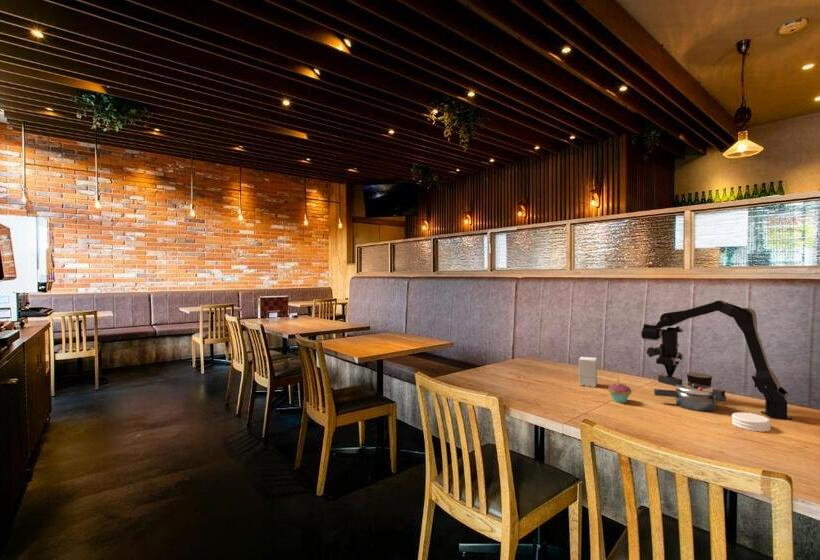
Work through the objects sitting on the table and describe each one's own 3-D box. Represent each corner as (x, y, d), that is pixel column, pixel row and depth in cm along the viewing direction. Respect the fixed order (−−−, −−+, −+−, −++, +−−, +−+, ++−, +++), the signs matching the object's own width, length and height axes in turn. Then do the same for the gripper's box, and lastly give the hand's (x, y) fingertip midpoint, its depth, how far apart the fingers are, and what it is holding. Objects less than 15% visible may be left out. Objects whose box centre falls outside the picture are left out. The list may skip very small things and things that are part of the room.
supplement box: (597, 384, 192) (597, 357, 192) (595, 387, 186) (595, 360, 186) (581, 382, 196) (581, 356, 196) (578, 385, 190) (578, 358, 189)
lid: (734, 394, 152) (734, 386, 152) (711, 399, 146) (711, 391, 146) (670, 379, 174) (670, 373, 174) (649, 383, 169) (649, 376, 169)
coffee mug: (712, 403, 162) (712, 378, 162) (686, 399, 167) (686, 375, 167) (712, 396, 171) (712, 372, 171) (687, 393, 176) (687, 370, 176)
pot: (719, 404, 161) (719, 389, 161) (731, 414, 149) (731, 398, 149) (651, 397, 169) (651, 383, 169) (657, 407, 157) (657, 392, 157)
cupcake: (625, 405, 160) (625, 375, 160) (604, 400, 166) (604, 371, 166) (634, 401, 165) (634, 372, 165) (613, 396, 172) (613, 368, 172)
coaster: (756, 434, 131) (756, 423, 131) (724, 423, 140) (724, 413, 140) (777, 430, 134) (777, 420, 134) (745, 420, 143) (745, 410, 143)
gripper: (654, 337, 184) (654, 371, 185) (642, 342, 171) (642, 379, 171) (683, 339, 177) (683, 375, 177) (673, 345, 163) (673, 383, 163)
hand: (670, 378), depth 172 cm, fingers closed
